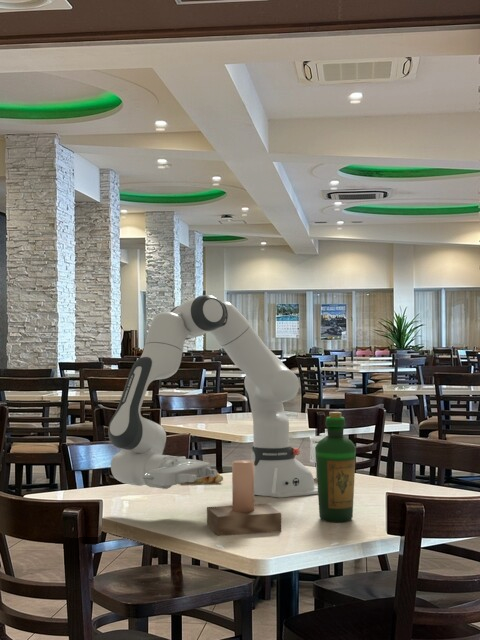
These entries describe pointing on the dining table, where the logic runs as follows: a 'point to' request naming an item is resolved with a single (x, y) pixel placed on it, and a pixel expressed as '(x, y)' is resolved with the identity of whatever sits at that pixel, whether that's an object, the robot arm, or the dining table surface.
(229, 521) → the brown rectangular block
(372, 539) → the dining table surface
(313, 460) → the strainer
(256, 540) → the dining table surface
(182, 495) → the dining table surface
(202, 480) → the croissant
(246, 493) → the pink upright cylinder
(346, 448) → the bottle
